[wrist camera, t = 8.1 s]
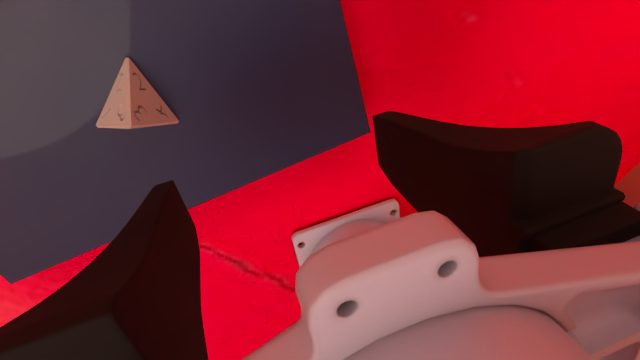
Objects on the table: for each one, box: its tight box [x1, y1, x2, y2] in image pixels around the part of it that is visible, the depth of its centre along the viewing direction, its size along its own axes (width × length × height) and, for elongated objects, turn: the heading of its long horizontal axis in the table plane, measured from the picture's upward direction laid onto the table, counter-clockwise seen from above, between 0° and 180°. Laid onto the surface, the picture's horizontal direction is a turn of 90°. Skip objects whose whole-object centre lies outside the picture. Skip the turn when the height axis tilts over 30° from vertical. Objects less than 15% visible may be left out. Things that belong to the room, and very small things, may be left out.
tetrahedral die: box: [96, 58, 179, 129], centre depth 17 cm, size 4×3×3 cm
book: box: [0, 0, 371, 284], centre depth 18 cm, size 14×20×3 cm
